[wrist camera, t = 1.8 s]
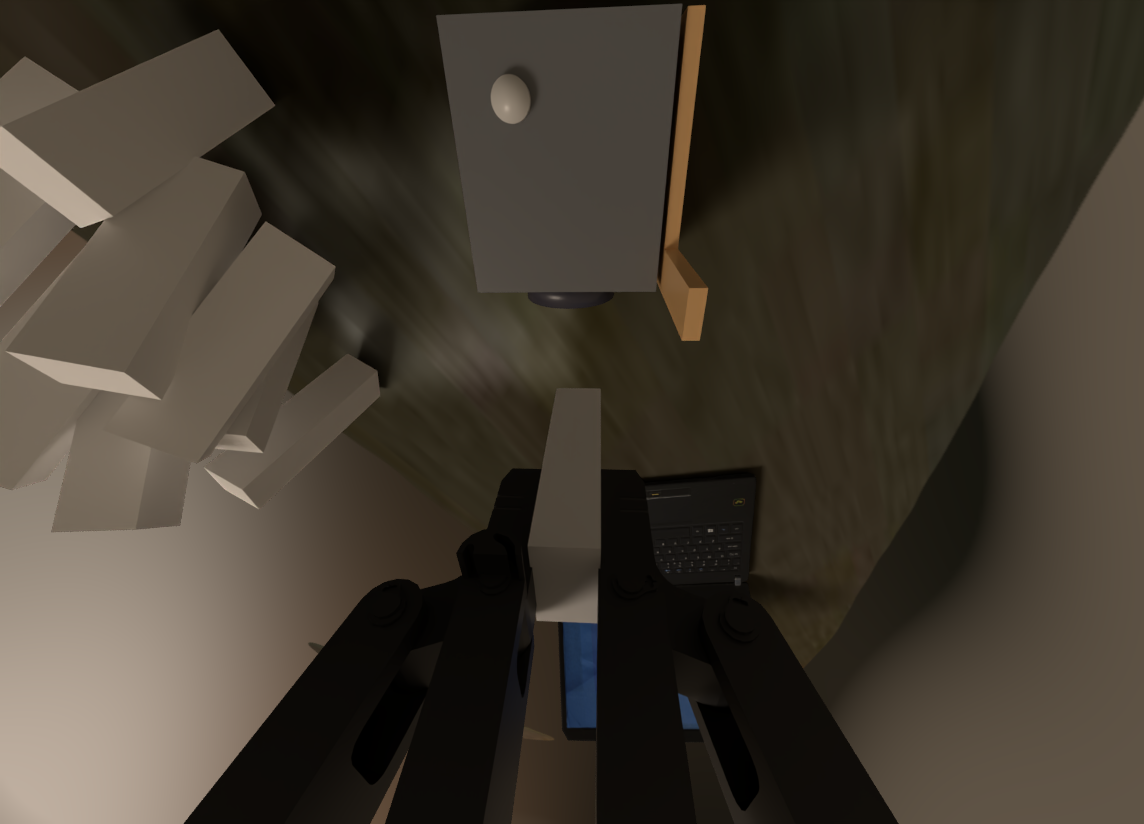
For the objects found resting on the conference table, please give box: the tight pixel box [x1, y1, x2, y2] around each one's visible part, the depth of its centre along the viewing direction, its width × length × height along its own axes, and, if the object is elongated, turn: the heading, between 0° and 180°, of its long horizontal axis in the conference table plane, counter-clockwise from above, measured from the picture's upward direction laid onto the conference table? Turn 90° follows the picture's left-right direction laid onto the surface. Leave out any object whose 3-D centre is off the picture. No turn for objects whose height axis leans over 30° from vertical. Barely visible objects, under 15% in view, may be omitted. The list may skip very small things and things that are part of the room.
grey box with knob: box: [436, 4, 682, 309], centre depth 32 cm, size 18×14×13 cm
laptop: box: [558, 473, 756, 742], centre depth 60 cm, size 33×38×19 cm
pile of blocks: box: [0, 29, 380, 532], centre depth 36 cm, size 35×30×35 cm
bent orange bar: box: [657, 5, 708, 341], centre depth 27 cm, size 16×1×21 cm, turn 1°
